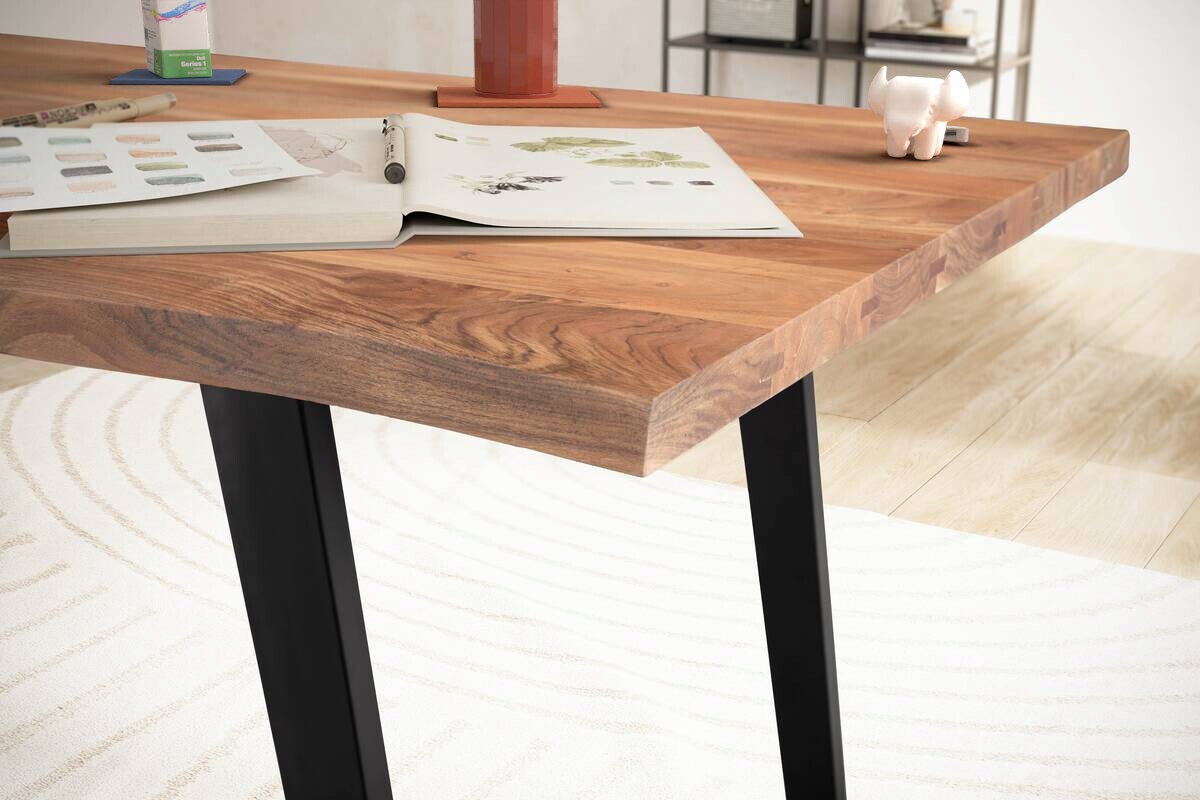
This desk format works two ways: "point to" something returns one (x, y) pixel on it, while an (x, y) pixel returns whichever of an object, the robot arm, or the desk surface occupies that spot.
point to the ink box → (177, 38)
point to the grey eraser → (956, 134)
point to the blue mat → (151, 78)
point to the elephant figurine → (917, 110)
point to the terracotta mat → (469, 99)
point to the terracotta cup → (515, 48)
